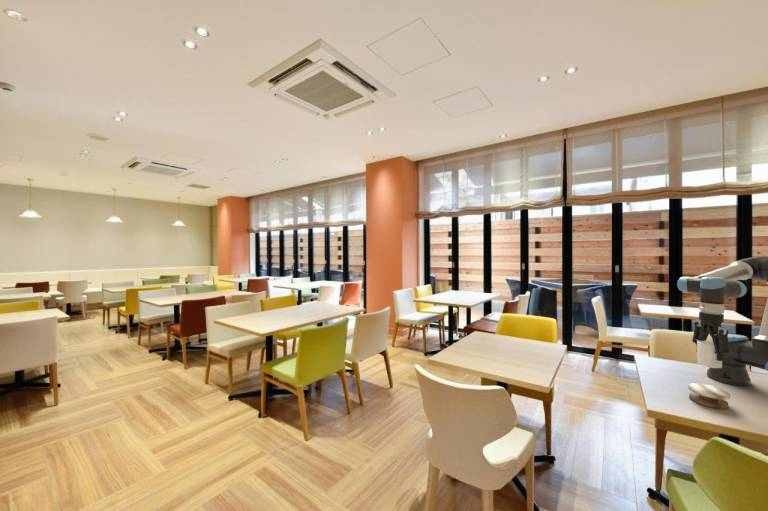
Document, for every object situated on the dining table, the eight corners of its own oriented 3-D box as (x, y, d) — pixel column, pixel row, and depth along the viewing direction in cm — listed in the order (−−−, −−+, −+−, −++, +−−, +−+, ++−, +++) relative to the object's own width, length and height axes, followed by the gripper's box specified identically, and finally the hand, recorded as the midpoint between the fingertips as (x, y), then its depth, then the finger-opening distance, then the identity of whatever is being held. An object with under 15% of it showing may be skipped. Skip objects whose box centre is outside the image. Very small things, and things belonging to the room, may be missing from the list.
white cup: (712, 362, 141) (713, 340, 141) (727, 369, 134) (728, 346, 133) (691, 361, 143) (692, 339, 143) (705, 368, 135) (706, 345, 135)
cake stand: (711, 395, 145) (711, 383, 144) (739, 410, 132) (739, 398, 131) (679, 394, 146) (680, 382, 146) (704, 408, 133) (705, 396, 133)
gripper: (682, 307, 148) (680, 355, 149) (723, 317, 128) (720, 373, 129) (700, 307, 147) (698, 355, 148) (744, 318, 127) (741, 374, 128)
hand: (708, 363), depth 138 cm, fingers closed on white cup, 7 cm apart
